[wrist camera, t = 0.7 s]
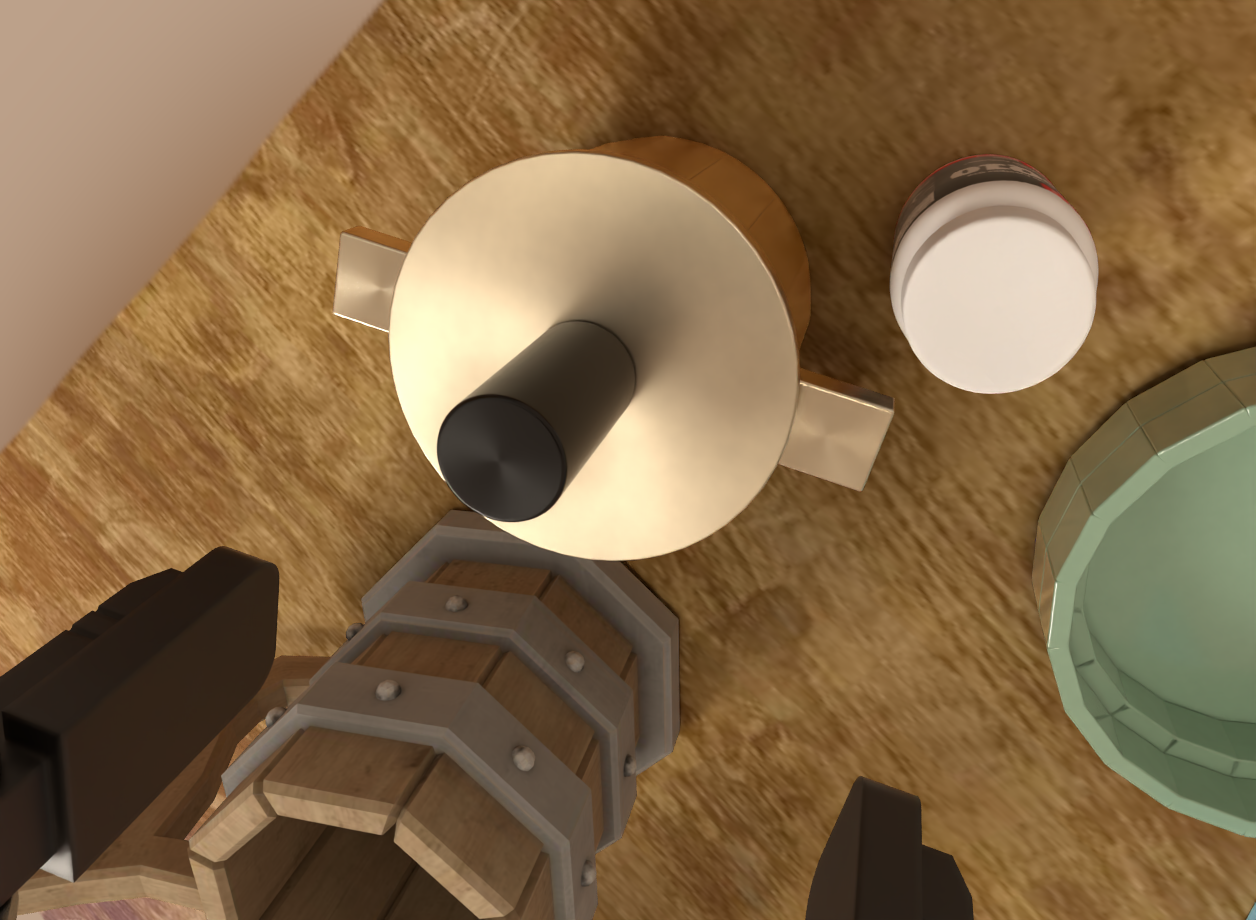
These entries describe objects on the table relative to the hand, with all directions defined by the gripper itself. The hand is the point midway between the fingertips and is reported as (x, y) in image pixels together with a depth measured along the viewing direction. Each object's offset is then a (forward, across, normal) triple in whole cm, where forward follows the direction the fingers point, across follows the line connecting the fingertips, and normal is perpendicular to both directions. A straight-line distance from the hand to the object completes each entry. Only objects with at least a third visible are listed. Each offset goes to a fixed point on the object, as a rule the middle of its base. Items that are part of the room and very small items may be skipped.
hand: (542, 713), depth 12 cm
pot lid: (+13, +3, +1) cm, 13 cm away
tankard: (+21, +9, +18) cm, 28 cm away
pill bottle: (+21, -6, -4) cm, 22 cm away
